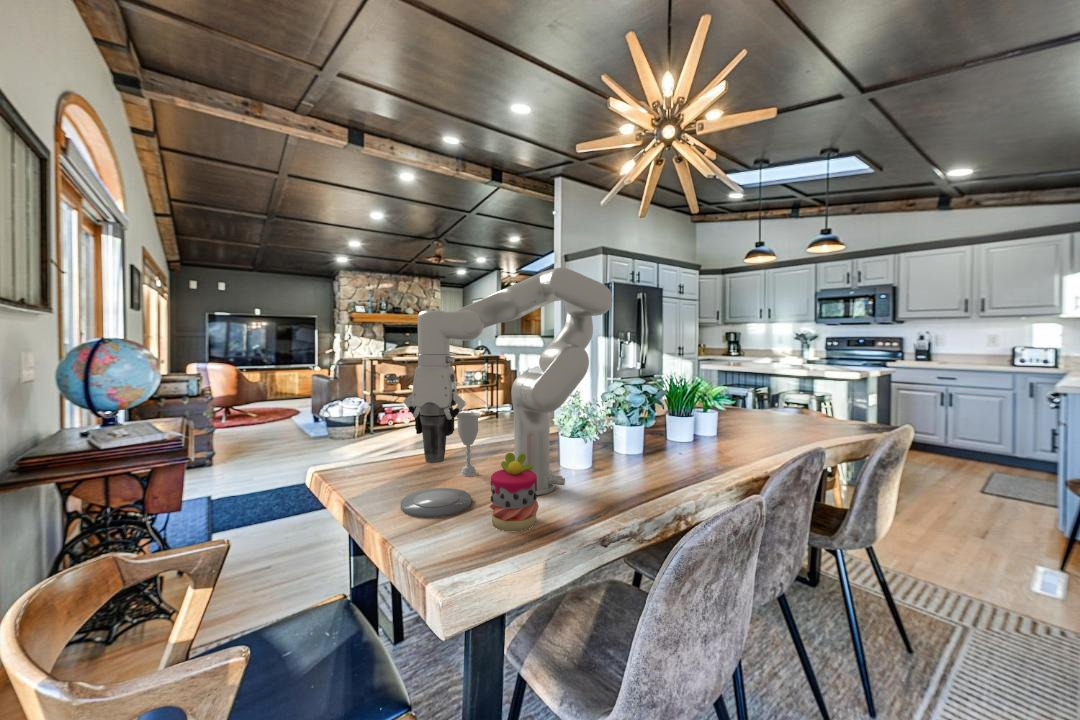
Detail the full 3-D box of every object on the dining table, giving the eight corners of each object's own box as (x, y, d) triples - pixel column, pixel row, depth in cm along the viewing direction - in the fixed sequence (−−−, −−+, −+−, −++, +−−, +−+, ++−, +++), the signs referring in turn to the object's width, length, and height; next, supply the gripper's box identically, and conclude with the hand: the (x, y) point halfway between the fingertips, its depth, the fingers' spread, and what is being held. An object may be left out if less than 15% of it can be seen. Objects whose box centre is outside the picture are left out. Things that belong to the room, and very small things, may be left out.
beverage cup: (453, 457, 117) (453, 378, 116) (444, 465, 110) (444, 381, 109) (425, 456, 118) (424, 378, 117) (415, 464, 111) (414, 381, 110)
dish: (481, 495, 121) (481, 489, 121) (453, 521, 104) (453, 514, 104) (422, 490, 125) (422, 484, 125) (386, 514, 109) (386, 507, 108)
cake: (544, 528, 101) (544, 460, 100) (497, 535, 97) (496, 465, 96) (528, 510, 110) (528, 448, 109) (485, 517, 107) (484, 453, 106)
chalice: (451, 475, 138) (451, 415, 137) (463, 469, 144) (463, 412, 143) (473, 478, 135) (472, 417, 134) (484, 472, 141) (484, 413, 140)
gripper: (473, 361, 114) (473, 432, 115) (409, 360, 118) (410, 429, 119) (460, 363, 107) (461, 439, 108) (393, 361, 111) (394, 435, 112)
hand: (434, 433), depth 114 cm, fingers closed on beverage cup, 7 cm apart
